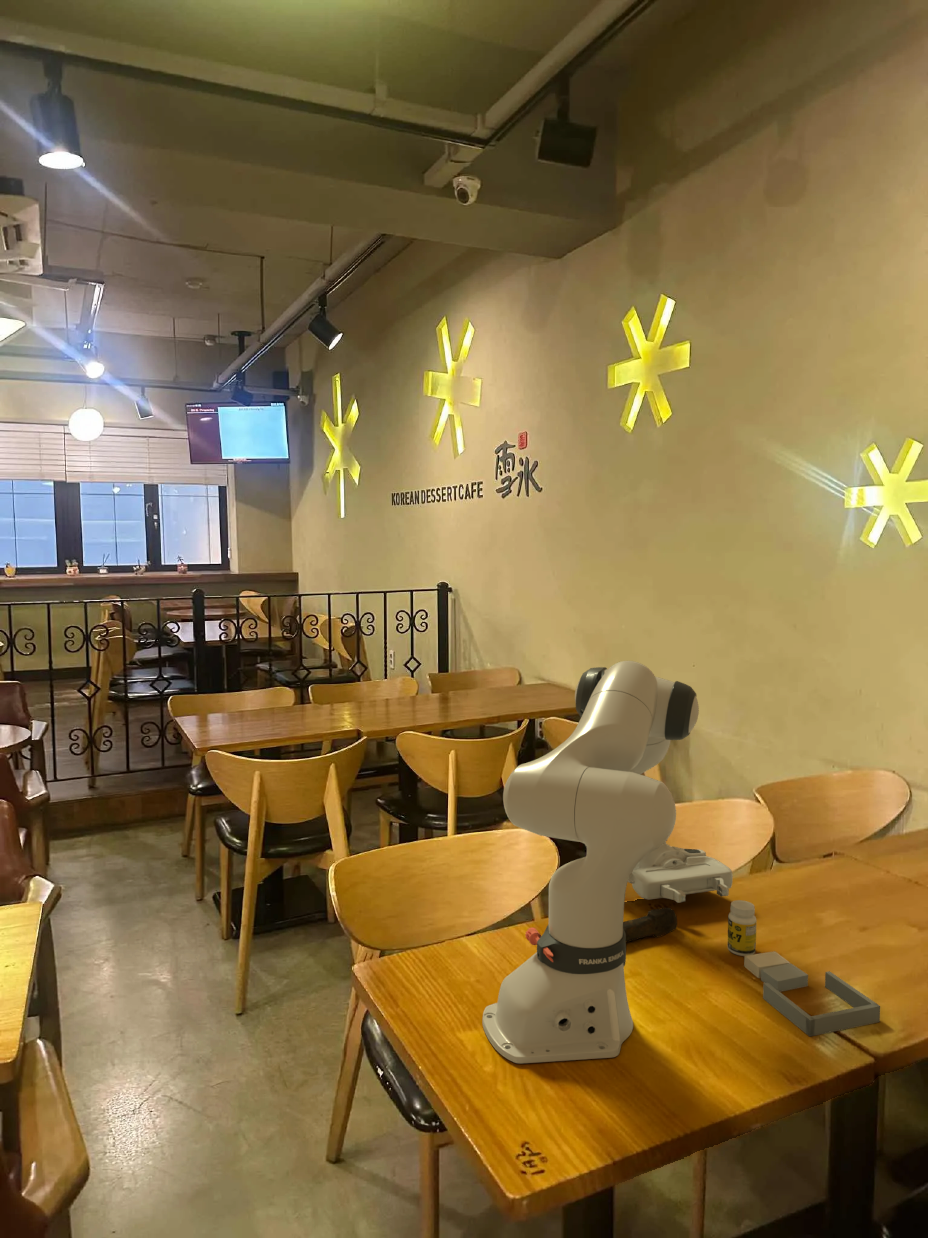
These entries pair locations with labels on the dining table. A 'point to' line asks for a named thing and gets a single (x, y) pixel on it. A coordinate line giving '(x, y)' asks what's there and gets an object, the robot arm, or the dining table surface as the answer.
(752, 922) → the supplement bottle
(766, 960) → the tile far
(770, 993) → the grey u-shaped frame
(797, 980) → the tile near
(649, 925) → the hand tool
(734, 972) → the dining table surface
